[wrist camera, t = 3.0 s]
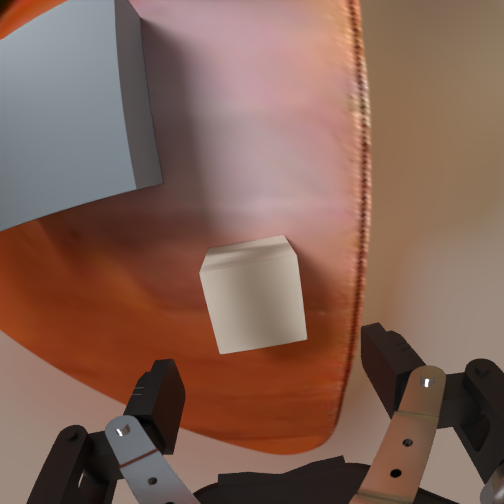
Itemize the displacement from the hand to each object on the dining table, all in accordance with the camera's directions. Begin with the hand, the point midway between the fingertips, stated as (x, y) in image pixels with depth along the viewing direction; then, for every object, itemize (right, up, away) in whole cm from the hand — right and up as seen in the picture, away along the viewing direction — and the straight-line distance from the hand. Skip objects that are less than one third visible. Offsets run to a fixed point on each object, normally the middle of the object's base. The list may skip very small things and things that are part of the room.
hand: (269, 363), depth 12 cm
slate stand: (-14, +15, +7) cm, 22 cm away
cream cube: (-1, +3, +11) cm, 11 cm away
